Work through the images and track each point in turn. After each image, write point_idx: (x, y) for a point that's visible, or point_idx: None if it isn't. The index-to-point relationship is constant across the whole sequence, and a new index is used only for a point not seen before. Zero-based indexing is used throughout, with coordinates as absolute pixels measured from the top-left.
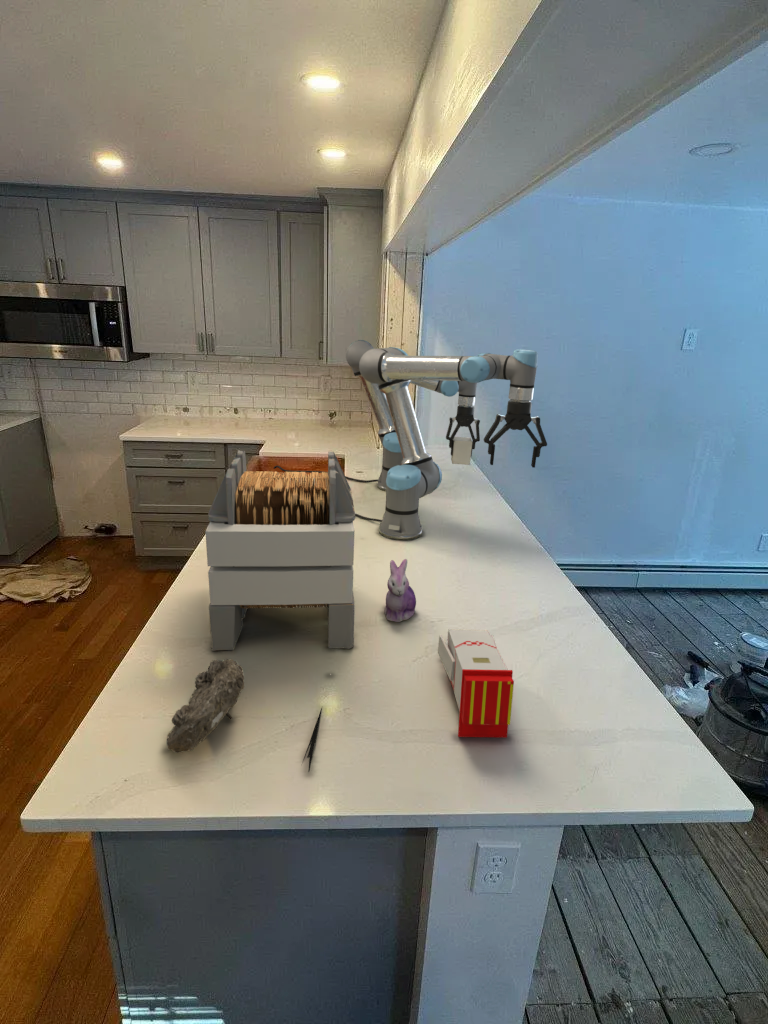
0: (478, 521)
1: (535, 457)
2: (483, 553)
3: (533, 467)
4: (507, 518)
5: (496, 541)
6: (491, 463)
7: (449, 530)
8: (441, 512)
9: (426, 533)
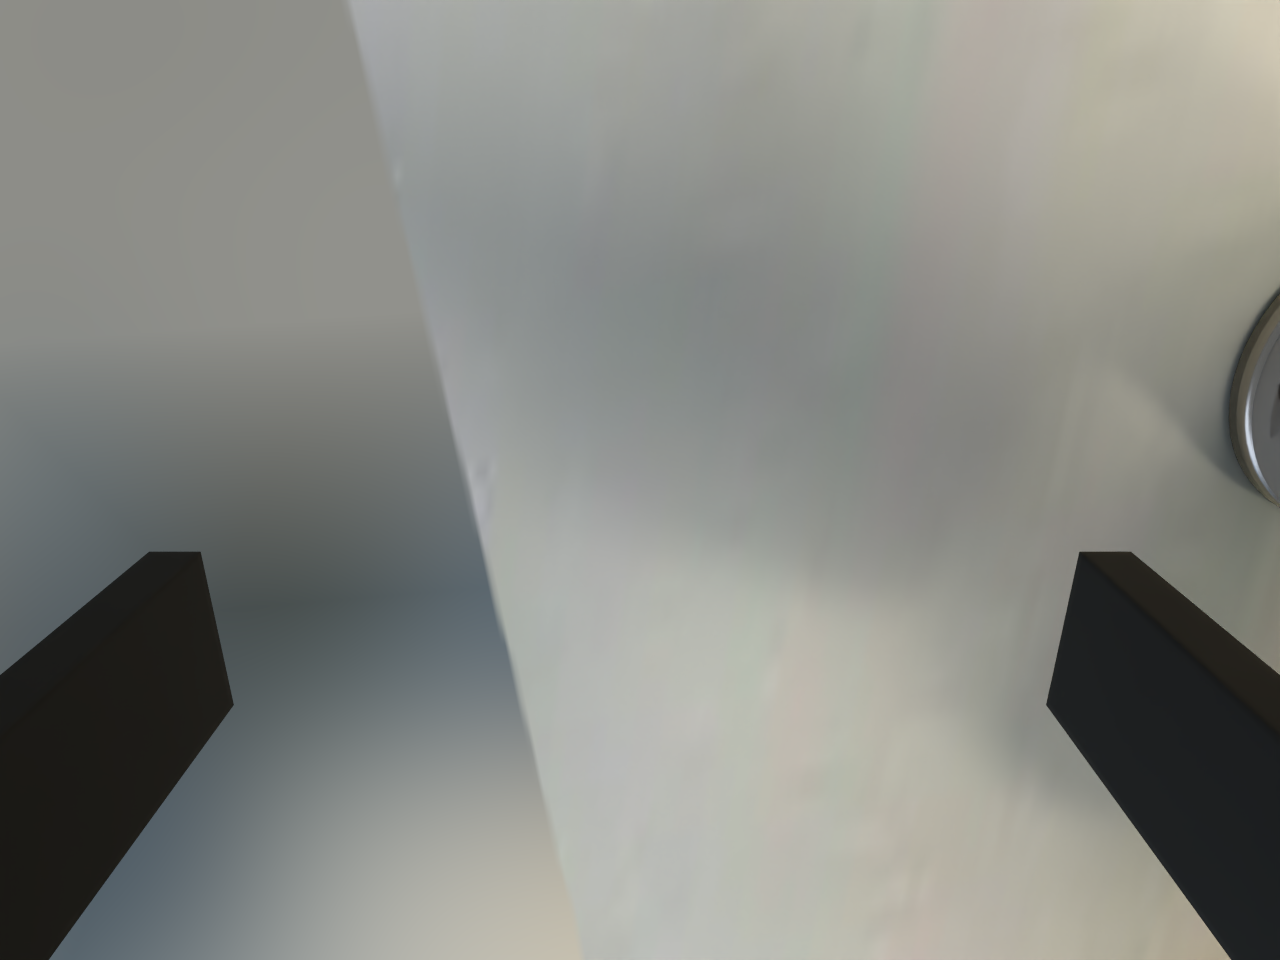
0: (761, 669)
1: (2, 692)
2: (822, 52)
3: (179, 554)
4: (552, 751)
5: (683, 324)
6: (1137, 567)
7: (1003, 475)
8: (993, 778)
9: (1192, 389)
